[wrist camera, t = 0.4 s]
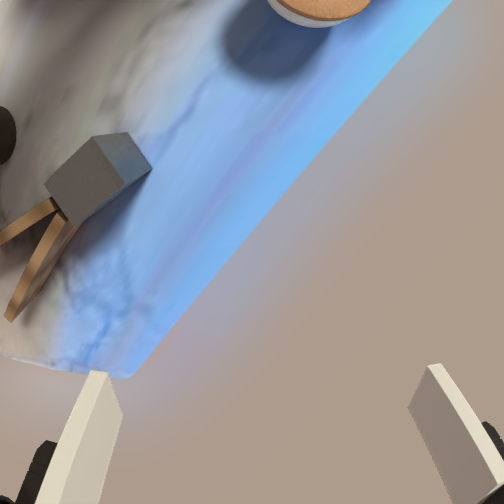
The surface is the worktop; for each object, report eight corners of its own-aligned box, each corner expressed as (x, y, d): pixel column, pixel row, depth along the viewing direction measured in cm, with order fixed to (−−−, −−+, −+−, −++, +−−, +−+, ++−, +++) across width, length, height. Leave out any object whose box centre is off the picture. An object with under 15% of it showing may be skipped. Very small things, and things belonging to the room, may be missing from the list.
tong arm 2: (88, 194, 35) (56, 213, 27) (96, 202, 35) (65, 222, 28) (31, 287, 39) (3, 315, 31) (38, 293, 39) (11, 322, 32)
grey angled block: (127, 132, 32) (92, 136, 24) (152, 168, 34) (125, 183, 25) (85, 168, 33) (44, 184, 25) (109, 202, 35) (74, 227, 26)
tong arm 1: (82, 182, 34) (48, 198, 27) (87, 192, 34) (54, 210, 27) (-3, 237, 36) (-36, 259, 28) (1, 246, 36) (-31, 268, 29)
